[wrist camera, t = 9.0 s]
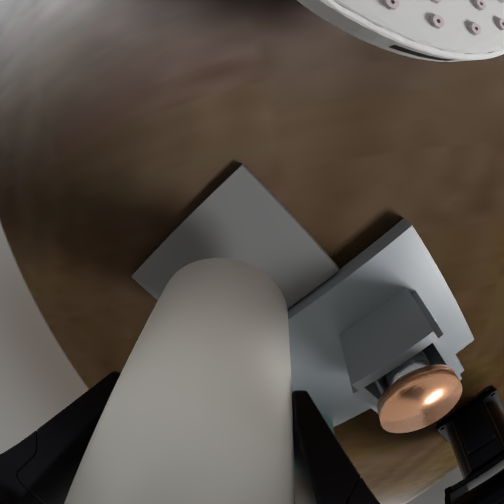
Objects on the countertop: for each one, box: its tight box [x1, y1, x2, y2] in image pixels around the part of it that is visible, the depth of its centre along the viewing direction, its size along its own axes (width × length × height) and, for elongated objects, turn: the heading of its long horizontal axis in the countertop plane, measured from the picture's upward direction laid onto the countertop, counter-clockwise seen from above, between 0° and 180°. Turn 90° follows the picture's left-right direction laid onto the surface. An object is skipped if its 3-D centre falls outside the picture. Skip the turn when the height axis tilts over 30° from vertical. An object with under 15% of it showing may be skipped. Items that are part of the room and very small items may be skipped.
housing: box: [287, 218, 474, 433], centre depth 16 cm, size 10×20×4 cm, turn 134°
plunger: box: [377, 350, 462, 433], centre depth 13 cm, size 4×4×5 cm
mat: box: [132, 164, 339, 309], centre depth 15 cm, size 7×8×1 cm
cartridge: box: [64, 258, 295, 504], centre depth 7 cm, size 5×5×11 cm
